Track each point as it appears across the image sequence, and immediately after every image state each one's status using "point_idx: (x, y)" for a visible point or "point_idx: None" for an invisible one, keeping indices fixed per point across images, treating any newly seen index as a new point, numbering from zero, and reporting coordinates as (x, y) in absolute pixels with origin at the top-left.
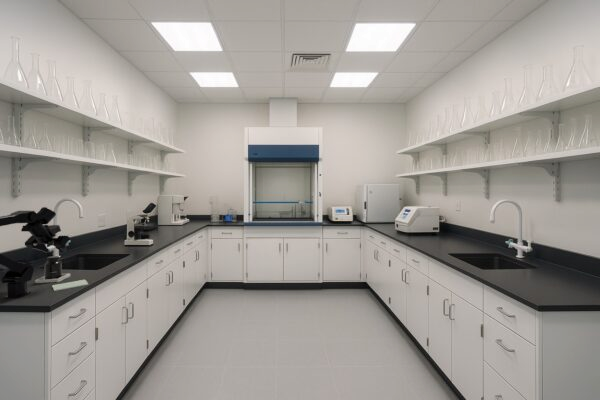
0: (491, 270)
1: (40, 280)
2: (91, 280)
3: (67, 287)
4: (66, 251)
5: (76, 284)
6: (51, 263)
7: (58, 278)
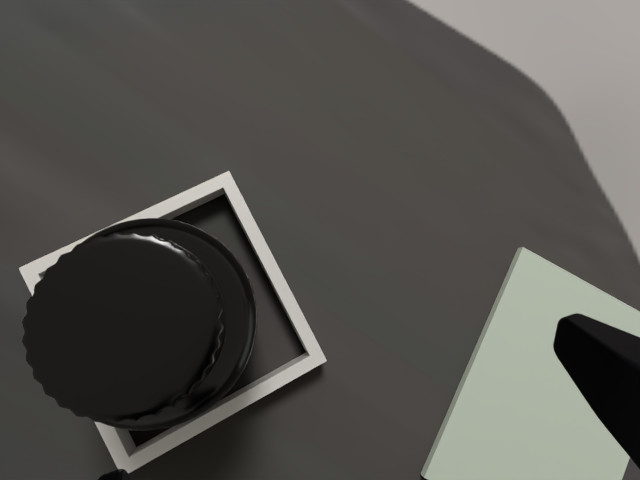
0: None
1: (172, 447)
2: (568, 229)
3: (618, 466)
4: (578, 320)
5: None
6: (212, 389)
7: (312, 347)
